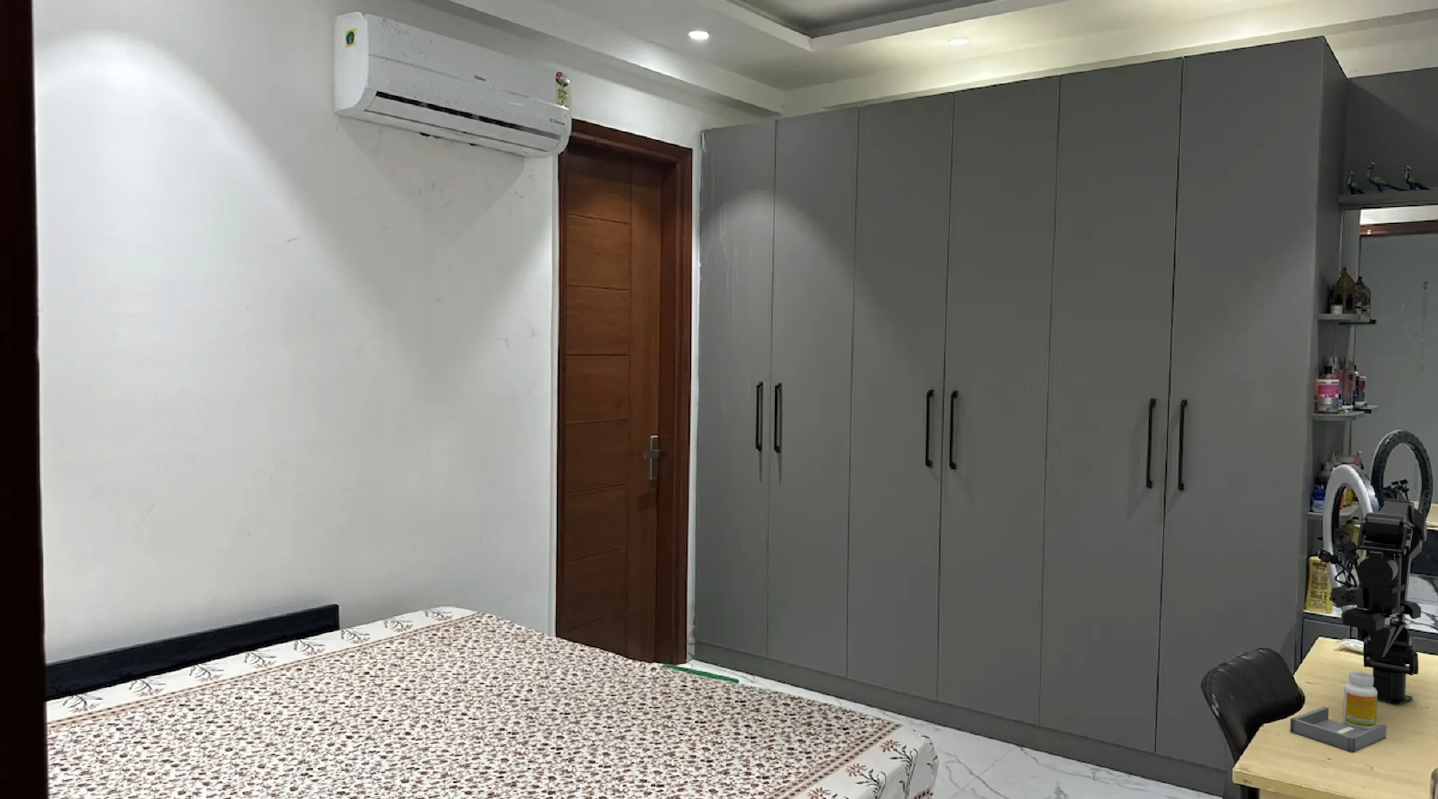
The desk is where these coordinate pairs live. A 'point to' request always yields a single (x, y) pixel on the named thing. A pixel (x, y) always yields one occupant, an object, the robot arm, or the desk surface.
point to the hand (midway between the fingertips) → (1379, 656)
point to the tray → (1335, 731)
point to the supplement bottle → (1360, 701)
